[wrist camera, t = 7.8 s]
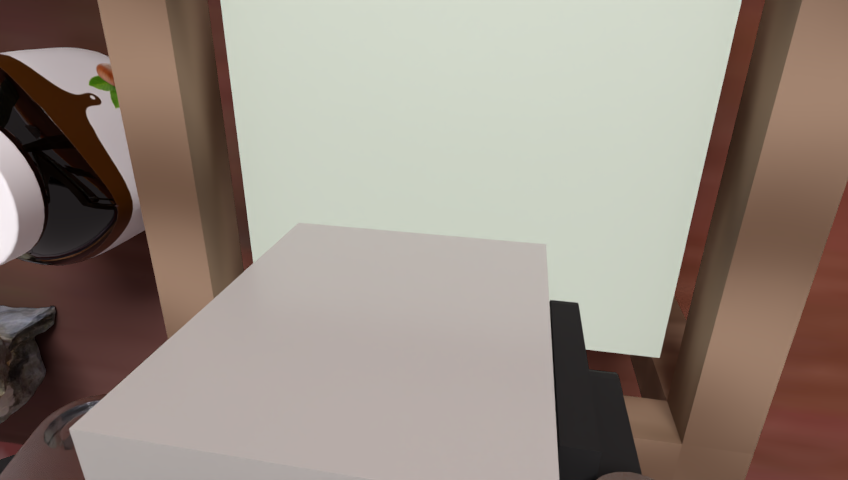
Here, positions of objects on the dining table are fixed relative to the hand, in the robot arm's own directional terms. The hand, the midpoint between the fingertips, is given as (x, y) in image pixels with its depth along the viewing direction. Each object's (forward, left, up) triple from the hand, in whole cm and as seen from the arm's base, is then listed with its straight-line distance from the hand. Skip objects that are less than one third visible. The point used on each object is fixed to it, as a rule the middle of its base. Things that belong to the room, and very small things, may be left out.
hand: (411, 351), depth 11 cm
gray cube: (0, 0, -1) cm, 1 cm away
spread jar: (+1, -23, -19) cm, 30 cm away
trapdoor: (-3, 0, -7) cm, 8 cm away
